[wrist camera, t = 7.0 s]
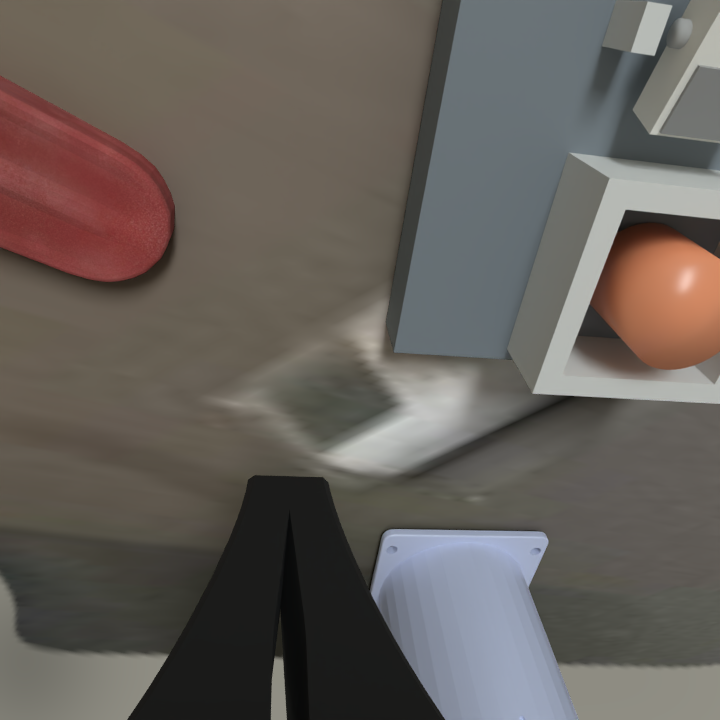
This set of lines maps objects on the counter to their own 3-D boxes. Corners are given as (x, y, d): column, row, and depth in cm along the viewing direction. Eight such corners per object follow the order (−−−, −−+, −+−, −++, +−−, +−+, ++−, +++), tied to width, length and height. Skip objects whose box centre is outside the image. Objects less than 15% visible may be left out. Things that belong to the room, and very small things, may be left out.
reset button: (661, 321, 19) (717, 373, 16) (570, 314, 18) (613, 366, 16) (705, 227, 17) (774, 269, 15) (606, 217, 17) (660, 258, 14)
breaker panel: (665, 342, 22) (740, 414, 19) (386, 322, 21) (405, 397, 17) (845, -31, 16) (1015, -35, 12) (461, -102, 14) (519, -132, 10)
